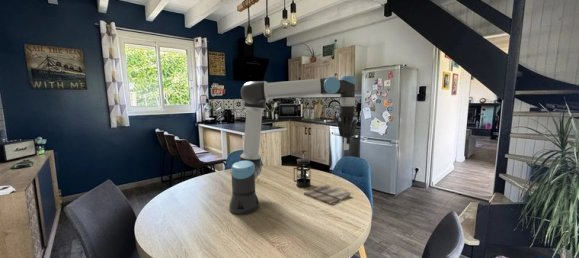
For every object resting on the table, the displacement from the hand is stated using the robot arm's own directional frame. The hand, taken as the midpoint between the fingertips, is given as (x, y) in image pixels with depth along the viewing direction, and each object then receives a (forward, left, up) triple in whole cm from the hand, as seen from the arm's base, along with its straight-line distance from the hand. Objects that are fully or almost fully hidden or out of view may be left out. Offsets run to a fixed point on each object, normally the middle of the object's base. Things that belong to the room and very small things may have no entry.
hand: (346, 149), depth 131 cm
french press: (-33, -2, -28) cm, 43 cm away
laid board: (-11, -8, -28) cm, 31 cm away
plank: (-11, +1, -28) cm, 29 cm away
